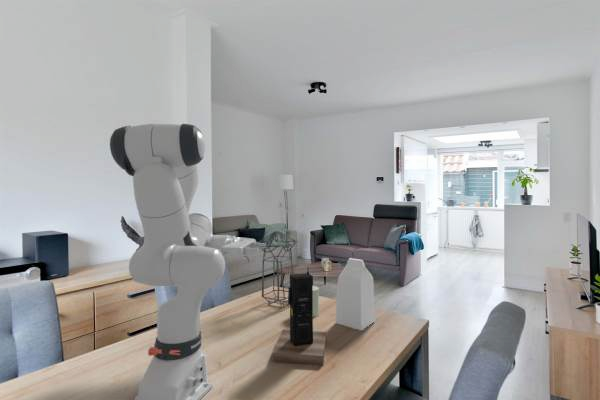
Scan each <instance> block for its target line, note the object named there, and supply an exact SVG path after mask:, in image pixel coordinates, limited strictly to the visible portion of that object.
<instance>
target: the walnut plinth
mask: <svg viewBox="0 0 600 400" xmlns="http://www.w3.org/2000/svg"><path fill="white" fill-rule="evenodd" d="M326 345H327V331H315V330H313V343H311V344H304V345H298V346H294V345H293V344H292V342H291V341H290V329H282V330H281V332H280V335H279V337H278V339H277V342H276V344H275V346H274V349H273V351H272V363H280V364H296V365H298V364H301V365H313V366H324V362H325V353H326Z"/></svg>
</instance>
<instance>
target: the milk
mask: <svg viewBox="0 0 600 400" xmlns="http://www.w3.org/2000/svg"><path fill="white" fill-rule="evenodd" d="M336 289H337V291H336V302H335V303H336V305H335V306H336V308H335V324H338V325H340V324H341V325H340V326H343V325H344V327H347V326H348V327H347V328H350V327H351V328H350V329H354V330H357V329H358V331H361V330H362V331H364V330H365V329H367V328H368V327H370V326H371V325H372V323H373V322H374V321H375V322H376V305H375V285H374V276H373V274H372V273H371V272H370V271H369V270H368V268H367V267H366V264H365V262H364V260H363V259H359V258H354V257H353V258H352V257H350V258H348V260H347V262H346V264H345V266H344V268H343V269H342V271H341V272H340V274H339V276H338V278H337V287H336ZM375 322H374V323H375ZM374 323H373V324H374ZM370 324H371V325H370ZM369 325H370V326H369ZM367 326H368V327H367ZM366 327H367V328H366ZM364 328H365V329H364Z"/></svg>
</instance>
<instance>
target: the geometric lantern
mask: <svg viewBox="0 0 600 400" xmlns="http://www.w3.org/2000/svg"><path fill="white" fill-rule="evenodd" d="M288 239H289V240H288ZM263 241H264V242H263ZM273 241H275V242H276V243H277V245H276V244H275V245H272V243H273ZM257 242H258V243H262V242H263V243H265V244H266V247H265V248H264V249H261V250H262V252H263V259H262V275H261V276H262V277H261V278H262V280H261V298H263V299H265V300H266V301H267V303H268V304H267V305H268V306H270V307H273V308H279V309H283V308H286V307H287V306H290V305H289V304H288V296H287V297H286V296H285V295H286V294H285V293H288V292H289V290H285V285H284V274H283V262H286V261H290V266H291V274H294V268H293V254H292V248H293V247H294V246H295V245H296V244H297V242H298V243H299V241H298V240H296V239H294V238H293V237H291V236H289V235H287V234H285V233H283V232H281V231H279V230H275V231H273V232H271V233H270V234H269V235H267V236H265V237H264V238H262V239H260V240H259V241H257ZM273 247H274V248H273ZM279 247H281V249H280V251H279V252H278V255H274V253H273V251H274V250H276V249H277V248H279ZM271 248H272V249H271ZM283 250H284V253H283V255H281V253H282V251H283ZM267 253H271V254H272V256H270V257H265V256H266V255H267ZM286 253H288V254H289V256H286V255H285V254H286ZM280 255H281V256H280ZM285 256H286V258H288V259H285V260H282V259H284V258H285ZM272 258H273V260H268V259H272ZM279 258H281V259H280V261H279ZM265 262H271V263H273V265H272V266H273V267H272V268H273V270H272V271H273V272H272V273H273V275H272V277H273V279H272V282H273V283H272V284H273V285H272V286H273V287H272V290H271V291H268V292H267V293H265V289H264V288H265V284H264V283H265V281H264V280H265ZM275 263H276V264H275ZM279 263H280V268H279ZM275 265H276V267H275ZM275 268H276V279H277V281H276V283H277V287H276V288H277V289H275ZM279 269H280V270H279ZM280 273H281V281H282V282H281V284H282V289H280ZM276 292H277V296H276ZM280 292H282V294H283V296H280ZM271 293H273V294H274V297H267V296H266V295H268V294H271ZM272 300H273V301H272ZM285 303H287V304H285ZM271 304H280V306H278V305H271ZM284 304H285V305H284Z"/></svg>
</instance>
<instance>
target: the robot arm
mask: <svg viewBox="0 0 600 400" xmlns="http://www.w3.org/2000/svg"><path fill="white" fill-rule="evenodd" d="M109 139H110V140H109V148H110V153H111V157H112V158H113V161H114V162H115V163H116V164H117V165H118V167H120V168H121V169H122V170H124V171H125V173H126V174H127V175H129V176H132V184H133V185H132V186H133V193H134V194H133V195H134V199H135V204H136V208H137V212H138V215H139V219H140V222H141V226H142V230H143V236H144V237H143V238H144V239H143V243H142V245H141V247H139V248H138V249H136V250H135V252H133V254H132V255H131V258H130V259H129V264H128V273H129V276H130V278H132V280H133V281H134V282H135V283H138V284H142V285H146V286H150V287H151V286H152V287H176V288H177V293H176V295H175V296H173V297H171V298H169V299H167V300H166V301H164V302H162V303H161V305H160V306H159V307H158V310H157V312H156V327H157V329H156V330H157V331H156V338H155V342H154V345H153V346H151V347H149V348H148V351H147V354H148V356H150V357H151V356H152V359H151V361H150V362H149V364H148V366H147V368H146V370H145V373H144V375H143V376H142V378H141V381H140V383H139V386H138V390H137V395H136V397H135V398H134V399H133V400H201V399H202V398H203V397H204V396H205V395H207V393H208V392H209V391H210V390H212V388H213V382H212V381H211V380H209V379H208V378H209V377H208V364H207V356H206V355H205V354H204V352H203V350H202V339H203V338H202V331H200V321H201V320H200V319H201V317H200V315H201V308H202V307H201V306H202V304H203V303H202V302H203V300H204V299H205V296H206V294H207V293H208V291H210V289H211V288H212V287H214V286H215V285H216V284H217V283H219V282H220V280H221V279H222V277H223V276H224V273H225V271H226V270H225V269H226V262H225V261H229V260H230V259H242V258H243V257H245V256H246V255H254V254H255V255H256V254H257V255H258V254H259V253H260V250H262V249H264V248H267V247H266V244H265V243H264V242H260V243H258V242H259V241H257V240H256V239H255V238H249V237H242V236H241V237H240V236H239V237H236V235H229V234H213V233H212V232H213V231H212V229H213V228H212V223H211V220H210V219H209V218H208V217H207V216H206V215H204V214H202V213H197V212H196V213H190V212H189V211H190V208H191V204H192V202H193V199H194V198H195V197H194V196H195V193H196V191H197V189H198V186H199V170H198V164H199V163H201V161H202V160H203V159H204V155H205V151H206V143H205V142H206V141H205V139H204V136H203V134H202V131H201V130H200V129H199V128H198V127H197V126H196V125H194V124H189V123H181V124H174V123H146V124H138V125H133V126H131V125H125V126H121V127H118V128H116V129H114V130H113V133H112V134H111V136H110V138H109ZM189 213H190V214H189Z"/></svg>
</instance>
